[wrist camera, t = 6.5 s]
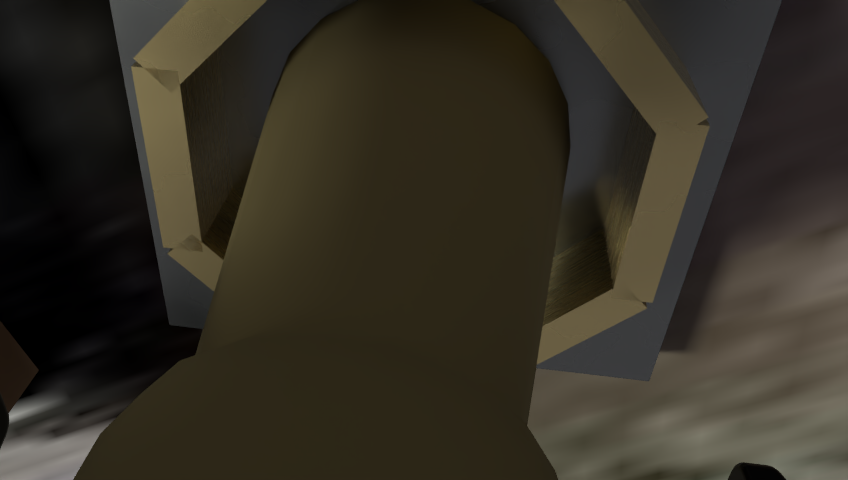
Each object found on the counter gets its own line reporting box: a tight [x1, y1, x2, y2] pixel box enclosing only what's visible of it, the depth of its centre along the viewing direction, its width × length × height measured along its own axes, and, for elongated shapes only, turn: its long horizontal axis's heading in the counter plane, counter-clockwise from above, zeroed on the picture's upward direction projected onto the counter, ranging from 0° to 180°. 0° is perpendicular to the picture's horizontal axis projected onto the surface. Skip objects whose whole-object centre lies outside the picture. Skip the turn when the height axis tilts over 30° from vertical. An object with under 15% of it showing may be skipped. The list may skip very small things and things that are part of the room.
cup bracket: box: [110, 0, 782, 381], centre depth 15 cm, size 12×12×3 cm
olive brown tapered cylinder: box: [73, 0, 571, 480], centre depth 11 cm, size 6×6×11 cm
